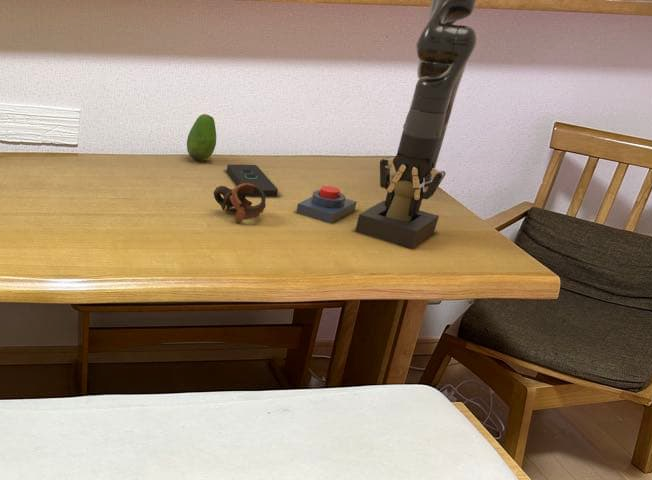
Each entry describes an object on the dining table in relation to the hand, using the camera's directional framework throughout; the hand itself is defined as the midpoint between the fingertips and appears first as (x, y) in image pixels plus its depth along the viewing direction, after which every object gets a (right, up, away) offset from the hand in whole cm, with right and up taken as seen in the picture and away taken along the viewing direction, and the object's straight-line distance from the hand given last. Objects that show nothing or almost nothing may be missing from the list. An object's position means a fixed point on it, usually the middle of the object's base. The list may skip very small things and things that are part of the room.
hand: (400, 211), depth 164 cm
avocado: (-40, +24, +39) cm, 61 cm away
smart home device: (-28, +13, +25) cm, 40 cm away
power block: (-13, +3, +11) cm, 18 cm away
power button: (-13, +6, +9) cm, 17 cm away
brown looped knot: (-35, 0, +6) cm, 35 cm away
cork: (0, -3, +2) cm, 4 cm away
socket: (0, -4, +3) cm, 5 cm away
